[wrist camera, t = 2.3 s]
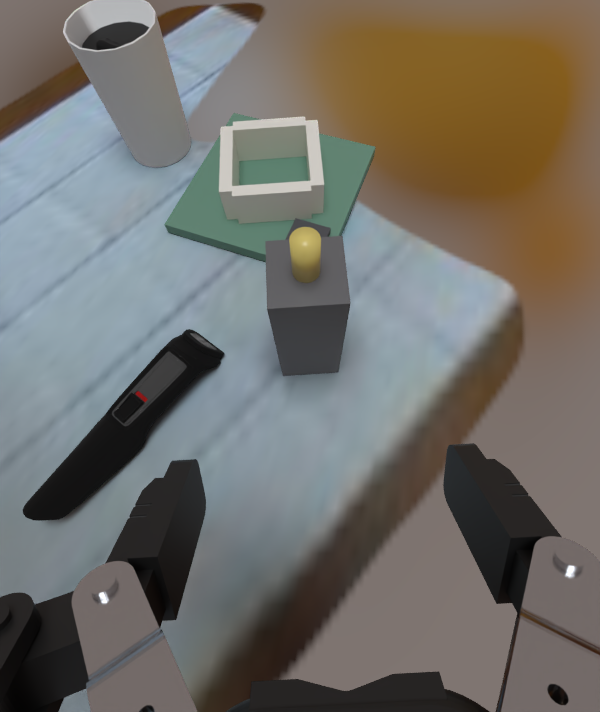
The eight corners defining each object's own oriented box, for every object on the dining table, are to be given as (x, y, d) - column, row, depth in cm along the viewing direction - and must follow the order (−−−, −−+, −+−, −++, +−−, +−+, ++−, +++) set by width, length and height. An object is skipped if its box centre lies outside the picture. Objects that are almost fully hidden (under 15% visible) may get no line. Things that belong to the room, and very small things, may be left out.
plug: (282, 375, 28) (260, 281, 16) (280, 326, 29) (259, 207, 18) (338, 372, 28) (355, 275, 16) (333, 322, 29) (345, 201, 18)
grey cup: (188, 172, 35) (143, 52, 26) (118, 169, 36) (49, 50, 26) (201, 121, 38) (165, -5, 28) (136, 119, 38) (79, -6, 29)
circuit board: (168, 232, 33) (161, 219, 31) (235, 122, 37) (232, 106, 36) (323, 279, 30) (323, 267, 29) (373, 156, 35) (376, 140, 34)
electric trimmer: (37, 494, 26) (2, 494, 23) (194, 330, 30) (181, 312, 27) (72, 532, 25) (40, 536, 22) (229, 358, 29) (220, 342, 26)
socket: (227, 224, 32) (218, 197, 29) (228, 153, 35) (220, 122, 32) (323, 217, 32) (324, 189, 29) (316, 147, 34) (316, 115, 32)
